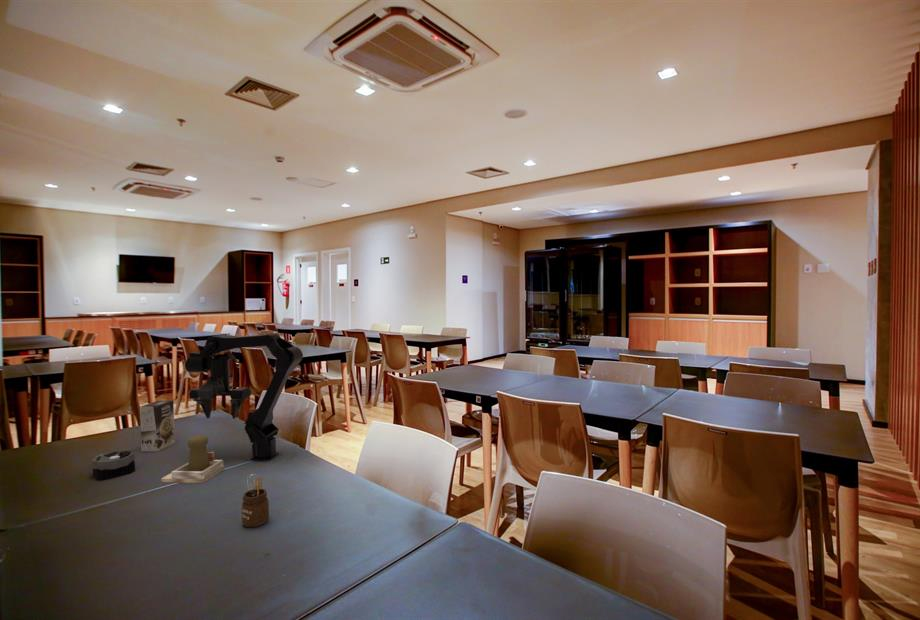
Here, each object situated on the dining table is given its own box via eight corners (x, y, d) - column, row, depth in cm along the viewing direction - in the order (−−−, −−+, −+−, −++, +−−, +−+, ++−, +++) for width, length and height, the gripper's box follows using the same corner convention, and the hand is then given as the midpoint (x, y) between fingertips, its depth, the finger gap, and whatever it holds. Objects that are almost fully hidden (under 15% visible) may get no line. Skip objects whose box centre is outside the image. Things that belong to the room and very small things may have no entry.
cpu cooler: (137, 454, 136) (95, 464, 128) (138, 472, 136) (96, 483, 128) (129, 447, 143) (89, 456, 135) (130, 464, 143) (89, 474, 135)
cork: (214, 468, 136) (213, 433, 135) (201, 476, 130) (200, 439, 129) (196, 467, 136) (195, 432, 136) (182, 475, 130) (181, 439, 130)
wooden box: (224, 469, 137) (223, 451, 137) (202, 483, 127) (202, 464, 127) (185, 468, 138) (184, 451, 138) (161, 481, 128) (160, 463, 128)
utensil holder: (263, 512, 110) (262, 465, 109) (273, 521, 105) (272, 472, 105) (238, 521, 106) (236, 472, 105) (247, 531, 101) (245, 480, 101)
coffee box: (158, 451, 153) (156, 406, 153) (140, 451, 153) (138, 406, 153) (176, 442, 162) (174, 399, 162) (158, 442, 163) (157, 399, 162)
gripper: (176, 377, 140) (177, 425, 141) (231, 377, 138) (233, 426, 139) (199, 370, 151) (201, 415, 152) (251, 370, 149) (252, 416, 150)
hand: (221, 418), depth 148 cm, fingers open, 9 cm apart
